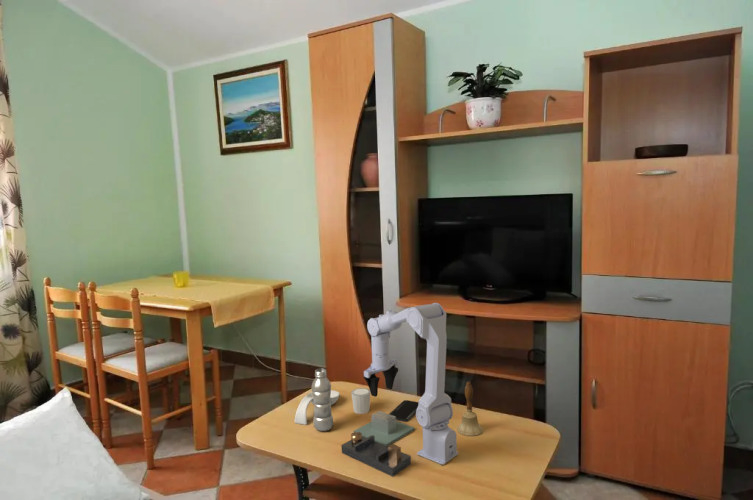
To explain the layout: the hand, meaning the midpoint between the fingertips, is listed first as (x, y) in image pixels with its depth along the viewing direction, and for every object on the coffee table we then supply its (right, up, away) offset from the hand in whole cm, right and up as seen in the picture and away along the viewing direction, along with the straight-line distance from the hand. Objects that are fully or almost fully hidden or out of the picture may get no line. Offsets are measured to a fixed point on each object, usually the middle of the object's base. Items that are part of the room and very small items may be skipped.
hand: (381, 392), depth 167 cm
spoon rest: (-23, -11, +12) cm, 28 cm away
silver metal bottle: (-19, -12, -2) cm, 23 cm away
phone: (+9, -10, +9) cm, 16 cm away
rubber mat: (+1, -11, -6) cm, 13 cm away
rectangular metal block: (+1, -10, -6) cm, 12 cm away
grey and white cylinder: (-7, -10, +11) cm, 16 cm away
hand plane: (-2, -13, -22) cm, 26 cm away
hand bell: (+28, -11, -7) cm, 31 cm away
